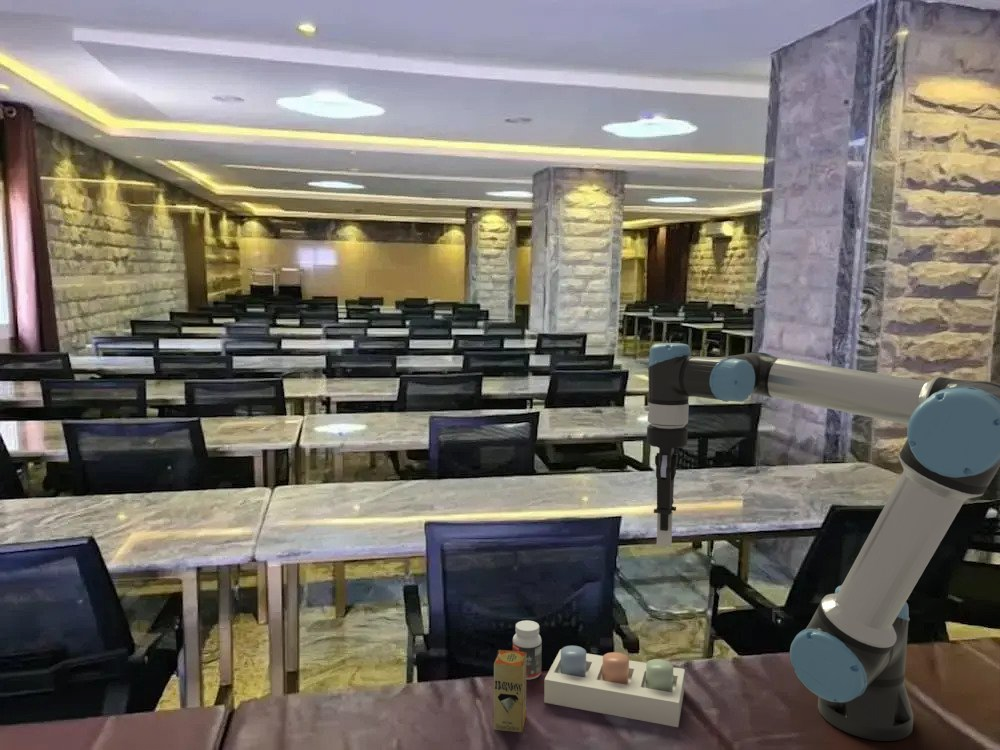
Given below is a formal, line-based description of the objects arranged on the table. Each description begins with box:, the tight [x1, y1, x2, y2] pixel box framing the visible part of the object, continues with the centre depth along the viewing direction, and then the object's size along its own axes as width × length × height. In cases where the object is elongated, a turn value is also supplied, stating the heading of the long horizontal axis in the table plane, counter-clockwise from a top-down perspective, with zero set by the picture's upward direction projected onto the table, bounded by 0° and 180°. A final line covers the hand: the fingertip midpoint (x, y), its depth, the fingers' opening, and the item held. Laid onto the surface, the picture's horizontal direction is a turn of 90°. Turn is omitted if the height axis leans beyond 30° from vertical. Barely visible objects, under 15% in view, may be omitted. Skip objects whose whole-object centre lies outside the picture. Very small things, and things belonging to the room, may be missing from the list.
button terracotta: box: [602, 651, 630, 684], centre depth 136 cm, size 5×5×4 cm
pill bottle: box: [512, 620, 543, 681], centre depth 145 cm, size 6×6×10 cm
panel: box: [543, 648, 686, 728], centre depth 136 cm, size 24×12×4 cm, turn 71°
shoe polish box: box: [493, 649, 527, 733], centre depth 128 cm, size 5×5×12 cm
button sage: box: [646, 658, 674, 692], centre depth 133 cm, size 5×5×4 cm
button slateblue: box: [560, 645, 587, 677], centre depth 139 cm, size 5×5×4 cm
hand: (664, 544), depth 142 cm, fingers closed
